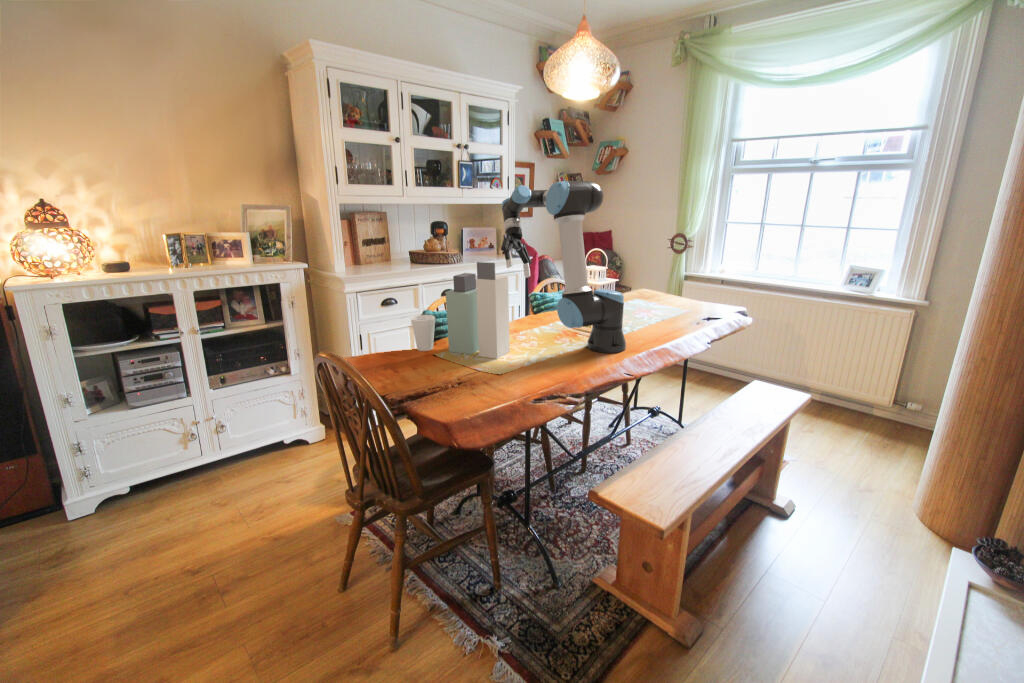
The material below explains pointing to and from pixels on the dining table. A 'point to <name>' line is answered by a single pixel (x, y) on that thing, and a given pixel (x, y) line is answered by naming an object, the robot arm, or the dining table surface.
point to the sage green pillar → (462, 321)
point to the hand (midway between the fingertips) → (518, 271)
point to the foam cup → (423, 331)
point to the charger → (464, 282)
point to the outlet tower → (492, 311)
